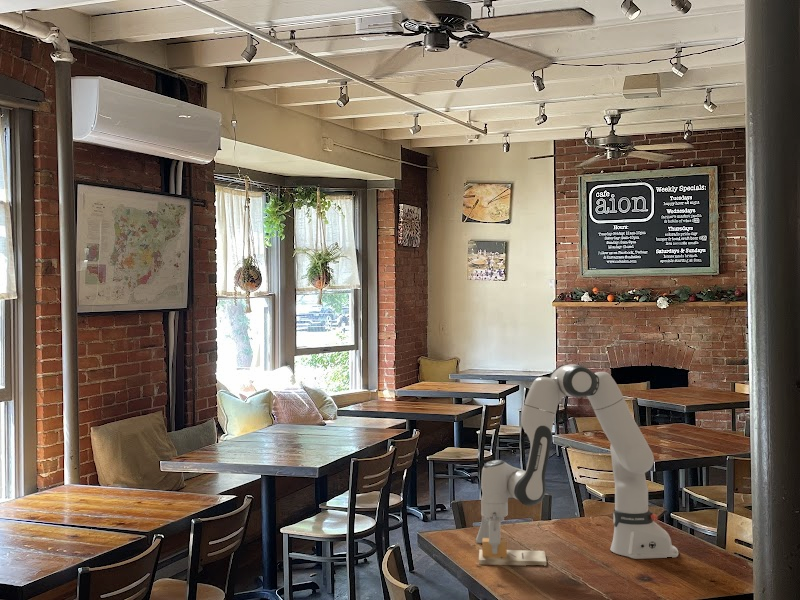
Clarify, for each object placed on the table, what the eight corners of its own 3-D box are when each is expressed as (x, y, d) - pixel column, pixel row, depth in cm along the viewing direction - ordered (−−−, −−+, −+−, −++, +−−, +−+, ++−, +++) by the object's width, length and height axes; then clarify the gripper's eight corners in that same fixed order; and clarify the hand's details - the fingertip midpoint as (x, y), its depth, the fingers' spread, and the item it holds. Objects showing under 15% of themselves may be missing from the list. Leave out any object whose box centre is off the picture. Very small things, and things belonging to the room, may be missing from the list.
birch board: (544, 555, 316) (544, 550, 316) (546, 565, 304) (546, 561, 304) (479, 553, 318) (479, 549, 318) (478, 564, 306) (478, 559, 306)
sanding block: (506, 553, 314) (506, 538, 313) (506, 557, 309) (506, 542, 309) (482, 552, 314) (482, 537, 314) (482, 556, 310) (482, 541, 310)
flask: (494, 545, 329) (494, 517, 328) (474, 544, 330) (474, 516, 330) (496, 539, 336) (496, 512, 335) (476, 538, 337) (476, 511, 337)
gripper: (504, 517, 301) (504, 560, 301) (503, 502, 321) (503, 542, 321) (484, 517, 301) (484, 559, 302) (485, 502, 322) (485, 542, 322)
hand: (494, 550), depth 312 cm, fingers closed on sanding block, 4 cm apart
